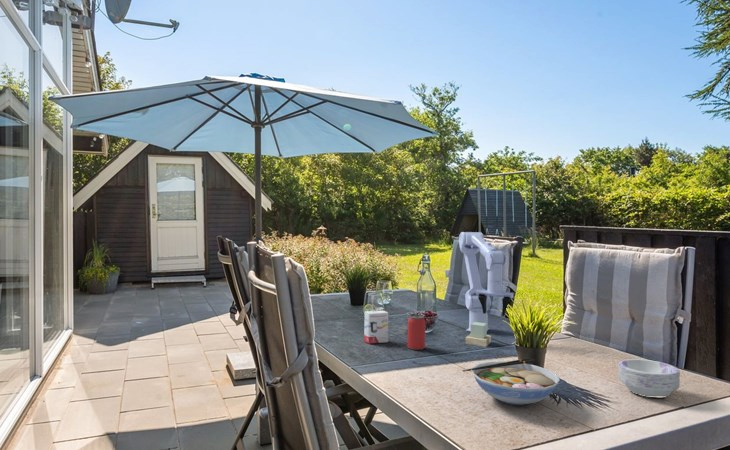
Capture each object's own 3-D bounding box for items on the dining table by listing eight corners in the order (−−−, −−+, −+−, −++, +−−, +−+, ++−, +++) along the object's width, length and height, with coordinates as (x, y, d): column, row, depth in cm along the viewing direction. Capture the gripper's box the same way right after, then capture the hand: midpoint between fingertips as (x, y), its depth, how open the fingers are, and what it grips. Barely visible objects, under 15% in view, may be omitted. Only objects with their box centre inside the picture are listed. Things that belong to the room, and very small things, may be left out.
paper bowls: (608, 383, 147) (608, 357, 147) (659, 384, 147) (660, 358, 146) (634, 402, 132) (635, 373, 132) (691, 404, 131) (692, 374, 131)
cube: (474, 334, 195) (474, 321, 194) (486, 336, 192) (486, 323, 192) (470, 336, 190) (470, 324, 190) (483, 338, 188) (483, 325, 188)
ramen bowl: (505, 424, 116) (505, 390, 116) (451, 392, 137) (452, 363, 137) (582, 409, 126) (582, 378, 126) (521, 381, 147) (521, 354, 147)
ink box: (368, 344, 186) (368, 313, 186) (363, 341, 191) (363, 311, 191) (388, 342, 190) (389, 312, 190) (383, 339, 195) (383, 310, 194)
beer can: (424, 346, 185) (425, 314, 185) (425, 350, 179) (425, 318, 178) (407, 345, 186) (408, 314, 186) (407, 350, 179) (407, 317, 179)
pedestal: (471, 340, 197) (471, 333, 197) (491, 343, 193) (491, 335, 193) (465, 345, 190) (465, 337, 190) (485, 347, 186) (486, 340, 186)
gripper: (474, 280, 196) (473, 313, 196) (511, 283, 189) (510, 318, 189) (479, 278, 202) (478, 311, 202) (514, 281, 195) (514, 314, 195)
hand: (494, 314), depth 196 cm, fingers open, 7 cm apart
